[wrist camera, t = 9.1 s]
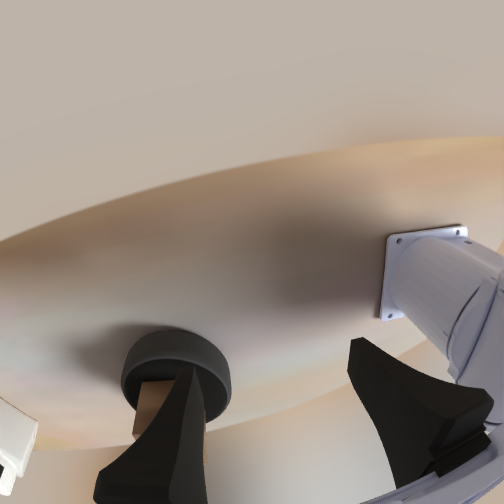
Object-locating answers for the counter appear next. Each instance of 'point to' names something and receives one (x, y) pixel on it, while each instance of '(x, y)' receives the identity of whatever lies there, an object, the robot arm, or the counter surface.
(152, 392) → the walnut block
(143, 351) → the smart speaker
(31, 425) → the medicine bottle
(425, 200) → the counter surface
